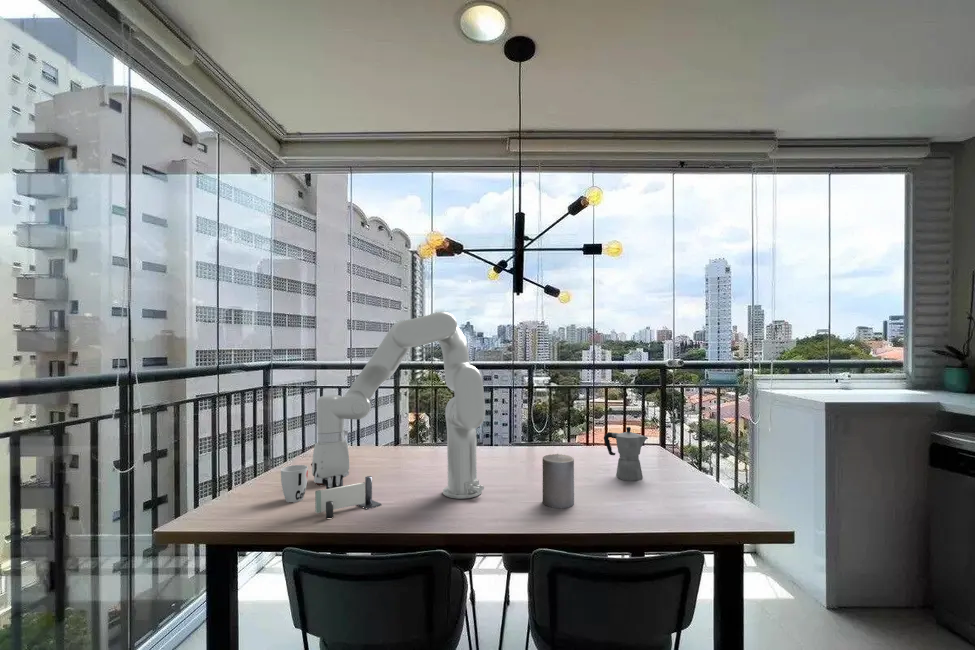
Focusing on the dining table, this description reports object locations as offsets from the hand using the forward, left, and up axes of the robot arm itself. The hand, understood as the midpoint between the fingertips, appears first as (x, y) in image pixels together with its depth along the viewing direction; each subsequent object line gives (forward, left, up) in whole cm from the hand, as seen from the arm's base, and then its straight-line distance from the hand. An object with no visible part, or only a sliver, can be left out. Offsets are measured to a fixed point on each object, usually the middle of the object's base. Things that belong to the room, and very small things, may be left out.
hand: (332, 499), depth 145 cm
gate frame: (+4, -4, -3) cm, 6 cm away
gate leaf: (-3, -1, -2) cm, 4 cm away
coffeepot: (-48, -89, -4) cm, 101 cm away
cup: (+18, +3, -3) cm, 18 cm away
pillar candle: (-46, -50, -4) cm, 68 cm away
